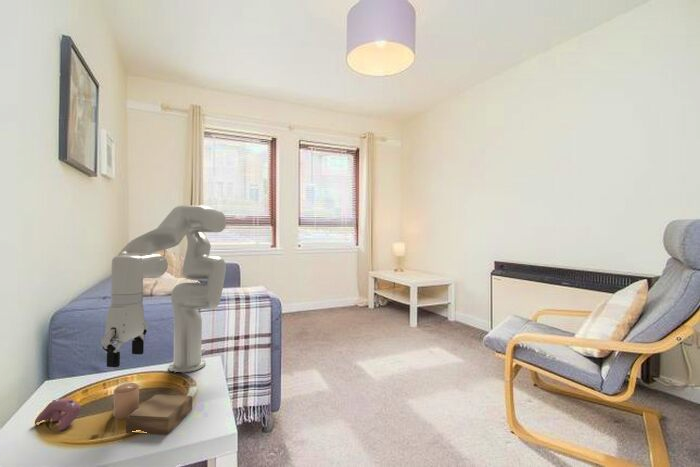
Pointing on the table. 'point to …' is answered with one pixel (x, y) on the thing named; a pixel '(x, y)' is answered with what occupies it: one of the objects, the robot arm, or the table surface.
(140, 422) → the walnut block
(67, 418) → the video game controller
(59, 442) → the table surface
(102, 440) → the table surface
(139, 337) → the robot arm
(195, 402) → the table surface
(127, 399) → the canister
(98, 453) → the table surface
